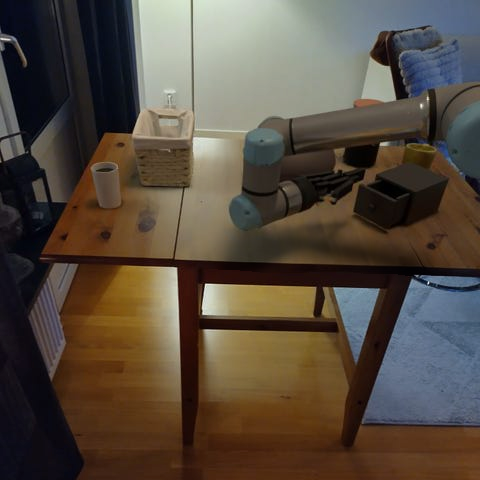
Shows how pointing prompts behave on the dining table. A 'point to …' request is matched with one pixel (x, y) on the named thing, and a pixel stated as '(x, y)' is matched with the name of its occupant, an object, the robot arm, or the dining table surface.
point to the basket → (164, 147)
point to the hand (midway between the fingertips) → (362, 173)
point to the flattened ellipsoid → (307, 164)
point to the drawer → (382, 203)
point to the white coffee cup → (107, 184)
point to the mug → (419, 155)
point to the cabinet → (417, 189)
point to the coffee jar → (363, 153)
